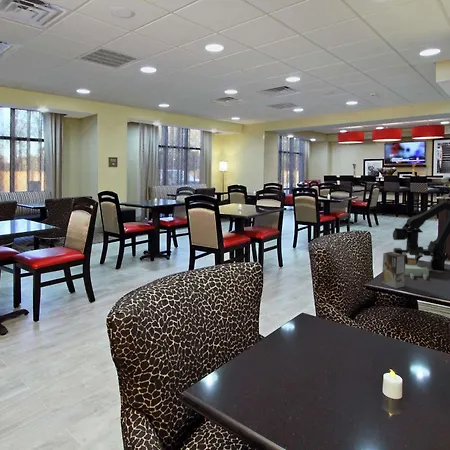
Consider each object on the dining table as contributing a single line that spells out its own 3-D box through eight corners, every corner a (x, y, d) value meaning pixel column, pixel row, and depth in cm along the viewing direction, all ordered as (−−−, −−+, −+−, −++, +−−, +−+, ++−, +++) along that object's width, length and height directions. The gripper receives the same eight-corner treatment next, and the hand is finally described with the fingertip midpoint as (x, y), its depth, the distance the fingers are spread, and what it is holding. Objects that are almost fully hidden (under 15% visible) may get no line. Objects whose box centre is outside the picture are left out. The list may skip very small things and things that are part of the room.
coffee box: (404, 286, 193) (406, 255, 191) (395, 288, 191) (397, 256, 188) (390, 281, 202) (391, 251, 199) (381, 283, 199) (382, 252, 196)
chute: (412, 267, 227) (413, 256, 226) (415, 270, 220) (416, 259, 219) (405, 266, 228) (406, 255, 227) (408, 270, 221) (408, 258, 220)
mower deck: (424, 271, 218) (425, 260, 217) (432, 280, 202) (433, 268, 201) (401, 270, 220) (401, 259, 219) (407, 279, 205) (407, 267, 204)
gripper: (397, 242, 216) (395, 269, 219) (434, 243, 212) (432, 271, 214) (393, 238, 227) (392, 264, 229) (428, 239, 222) (426, 265, 225)
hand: (410, 266), depth 224 cm, fingers closed on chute, 4 cm apart
